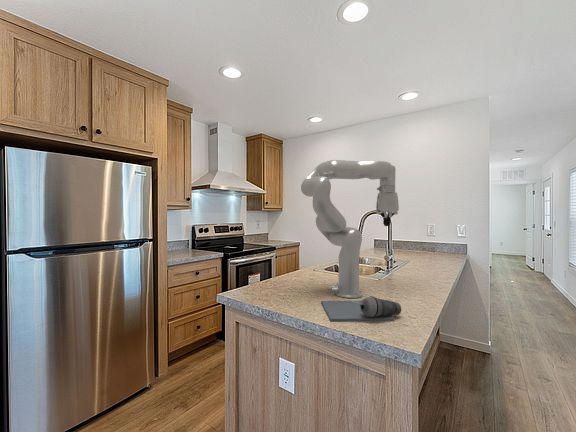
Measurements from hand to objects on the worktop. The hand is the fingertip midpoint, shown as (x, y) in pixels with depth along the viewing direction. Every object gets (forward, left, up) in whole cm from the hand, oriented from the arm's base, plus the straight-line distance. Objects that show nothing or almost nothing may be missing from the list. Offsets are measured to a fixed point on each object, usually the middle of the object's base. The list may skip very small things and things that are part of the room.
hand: (386, 225), depth 140 cm
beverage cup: (-11, -37, -29) cm, 48 cm away
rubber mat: (-26, -32, -32) cm, 52 cm away
